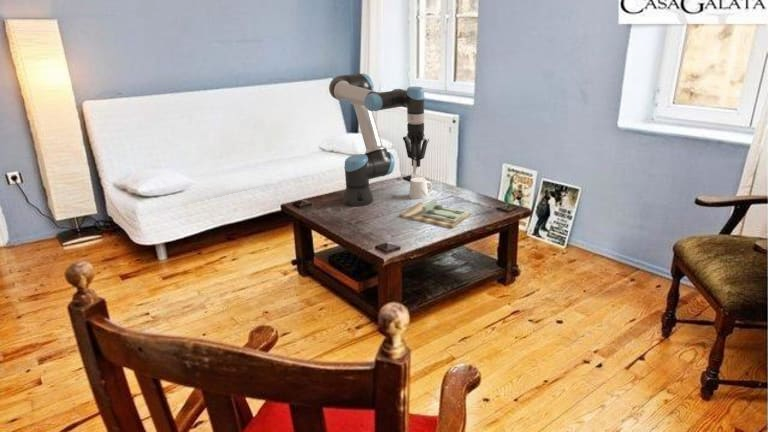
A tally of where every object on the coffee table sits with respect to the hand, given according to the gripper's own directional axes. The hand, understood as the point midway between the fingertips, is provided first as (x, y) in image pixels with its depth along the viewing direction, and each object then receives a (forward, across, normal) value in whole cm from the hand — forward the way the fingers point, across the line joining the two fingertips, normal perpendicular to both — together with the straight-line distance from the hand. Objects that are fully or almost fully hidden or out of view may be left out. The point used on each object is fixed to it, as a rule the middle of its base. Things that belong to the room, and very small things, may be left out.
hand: (416, 173), depth 233 cm
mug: (+20, -10, +20) cm, 30 cm away
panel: (+18, +15, 0) cm, 23 cm away
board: (+19, +10, 0) cm, 22 cm away
